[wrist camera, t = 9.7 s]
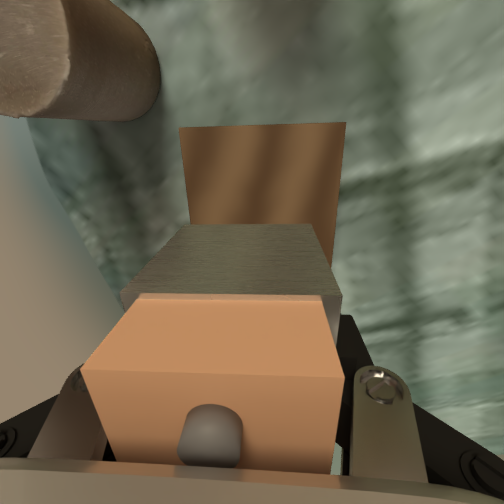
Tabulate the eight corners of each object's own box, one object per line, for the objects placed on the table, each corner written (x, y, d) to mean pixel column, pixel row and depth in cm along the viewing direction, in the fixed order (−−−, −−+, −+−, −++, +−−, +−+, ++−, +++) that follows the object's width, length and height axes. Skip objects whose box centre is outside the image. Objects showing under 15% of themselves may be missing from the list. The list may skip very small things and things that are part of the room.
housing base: (310, 223, 10) (342, 295, 6) (302, 359, 13) (318, 479, 9) (184, 224, 11) (119, 293, 6) (202, 356, 13) (167, 470, 9)
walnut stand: (333, 124, 28) (346, 122, 23) (322, 254, 34) (330, 273, 29) (193, 128, 29) (178, 127, 24) (206, 254, 35) (197, 272, 30)
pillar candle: (73, -11, 25) (-170, -181, 11) (173, 37, 26) (60, -67, 12) (64, 100, 29) (-124, 74, 15) (150, 138, 30) (46, 145, 16)
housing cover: (321, 301, 6) (353, 409, 4) (305, 481, 9) (318, 605, 6) (136, 299, 6) (56, 397, 4) (179, 473, 9) (148, 589, 7)
